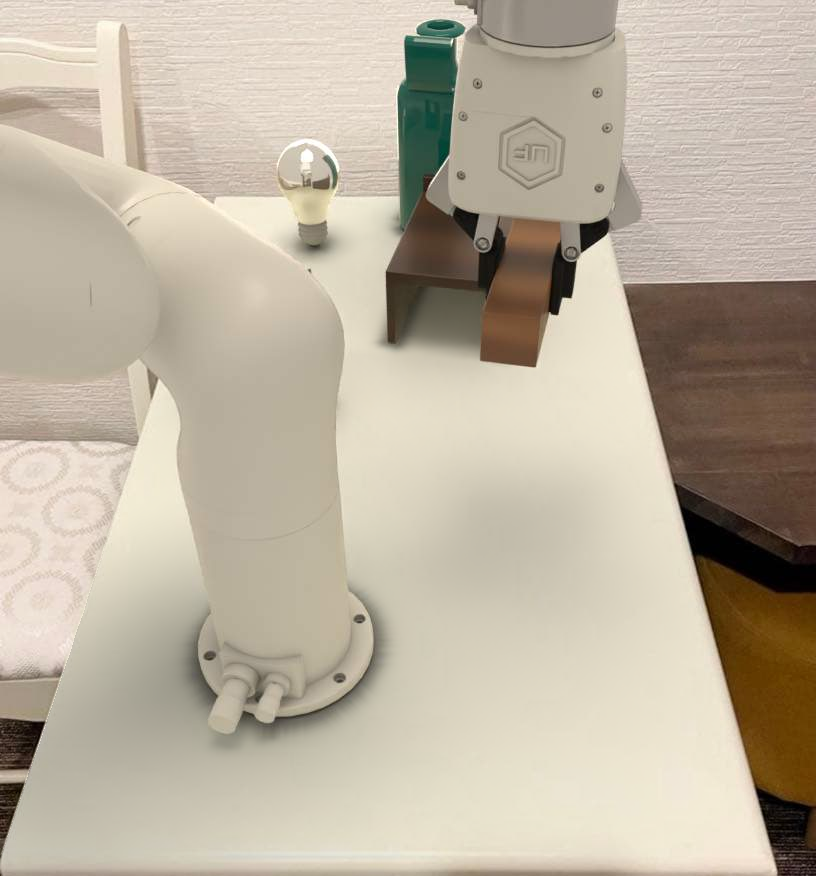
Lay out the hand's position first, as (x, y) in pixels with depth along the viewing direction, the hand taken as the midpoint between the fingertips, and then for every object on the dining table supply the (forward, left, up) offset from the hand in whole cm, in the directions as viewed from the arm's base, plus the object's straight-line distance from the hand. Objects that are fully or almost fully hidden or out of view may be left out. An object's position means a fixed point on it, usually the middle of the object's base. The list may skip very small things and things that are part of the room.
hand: (524, 298), depth 67 cm
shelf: (+32, +10, -20) cm, 39 cm away
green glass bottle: (+49, +16, -21) cm, 55 cm away
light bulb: (+41, +29, -21) cm, 54 cm away
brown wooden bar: (0, 0, -1) cm, 1 cm away
